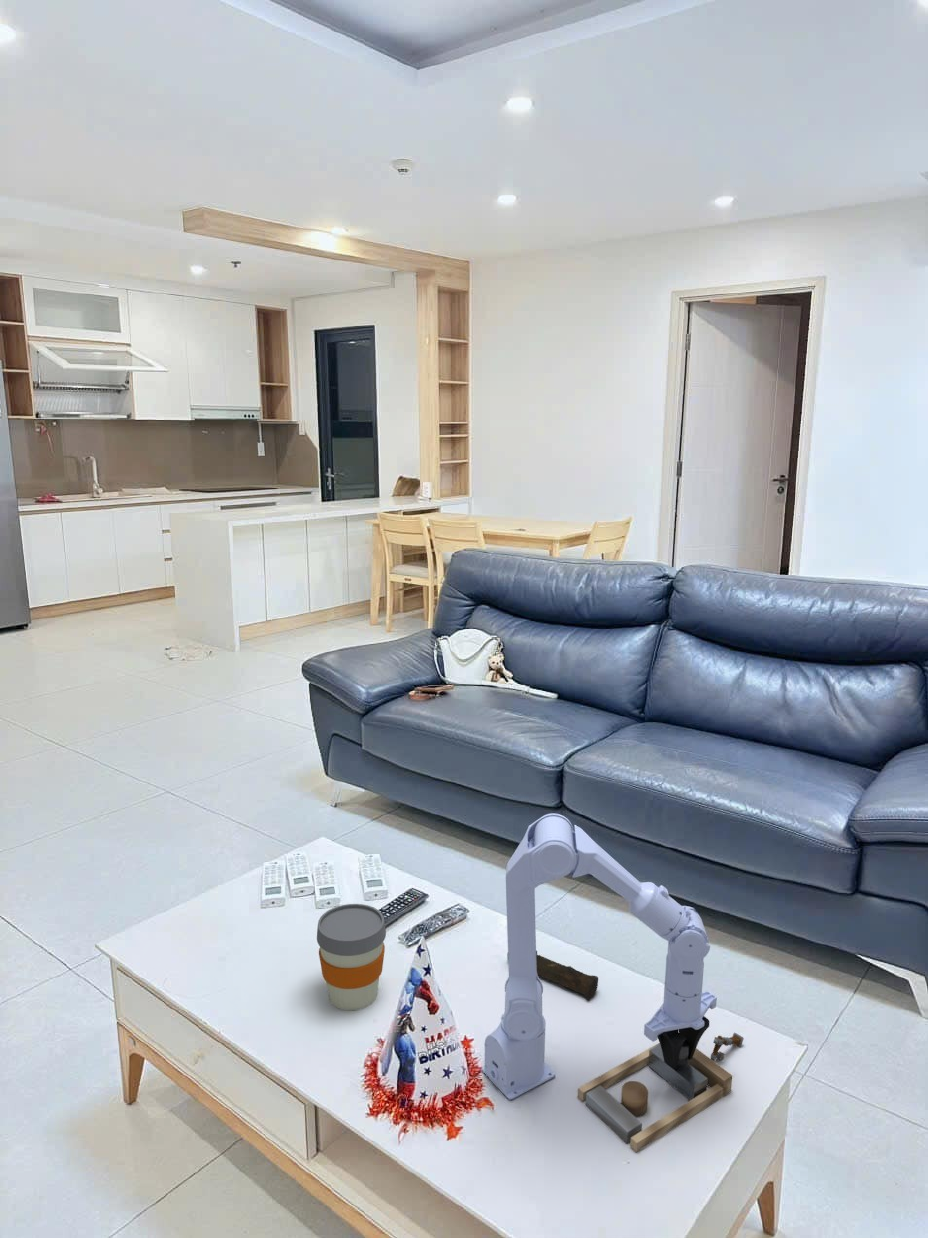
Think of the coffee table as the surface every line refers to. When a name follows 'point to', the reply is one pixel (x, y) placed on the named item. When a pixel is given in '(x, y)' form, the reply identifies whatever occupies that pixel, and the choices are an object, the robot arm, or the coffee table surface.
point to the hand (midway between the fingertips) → (678, 1060)
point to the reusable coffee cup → (351, 954)
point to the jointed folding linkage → (726, 1041)
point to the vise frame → (632, 1127)
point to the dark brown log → (567, 976)
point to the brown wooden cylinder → (635, 1098)
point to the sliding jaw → (679, 1072)
